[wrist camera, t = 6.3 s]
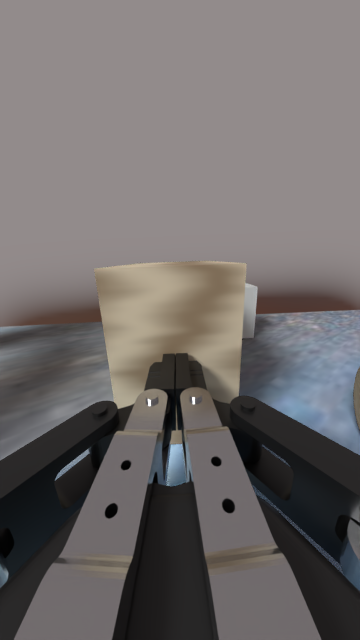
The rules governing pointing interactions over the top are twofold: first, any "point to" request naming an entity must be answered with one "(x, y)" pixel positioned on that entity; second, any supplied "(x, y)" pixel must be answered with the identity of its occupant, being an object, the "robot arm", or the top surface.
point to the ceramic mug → (357, 397)
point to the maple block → (173, 323)
